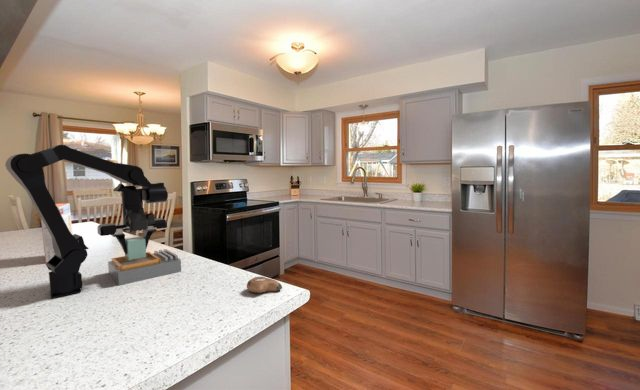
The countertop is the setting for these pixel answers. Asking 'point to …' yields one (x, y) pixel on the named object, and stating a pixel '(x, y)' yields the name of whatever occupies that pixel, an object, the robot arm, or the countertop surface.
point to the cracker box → (47, 239)
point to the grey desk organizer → (144, 267)
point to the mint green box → (135, 248)
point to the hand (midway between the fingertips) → (135, 252)
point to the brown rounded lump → (263, 285)
